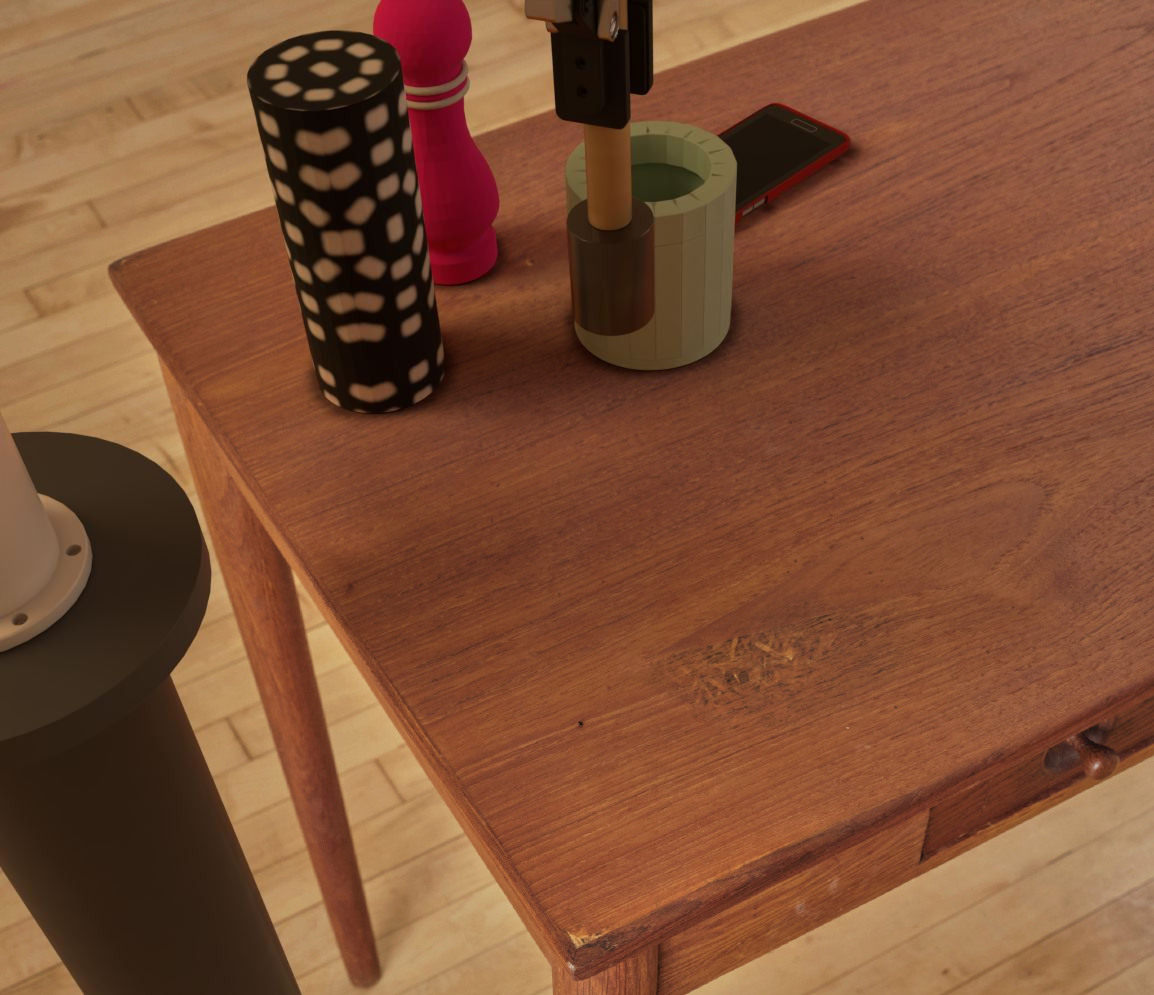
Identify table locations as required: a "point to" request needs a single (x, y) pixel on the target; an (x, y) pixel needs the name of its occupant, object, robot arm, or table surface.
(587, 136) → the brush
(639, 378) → the table surface
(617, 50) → the robot arm
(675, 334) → the jar
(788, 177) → the cell phone
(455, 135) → the pepper mill
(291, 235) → the white-spotted black cylinder
